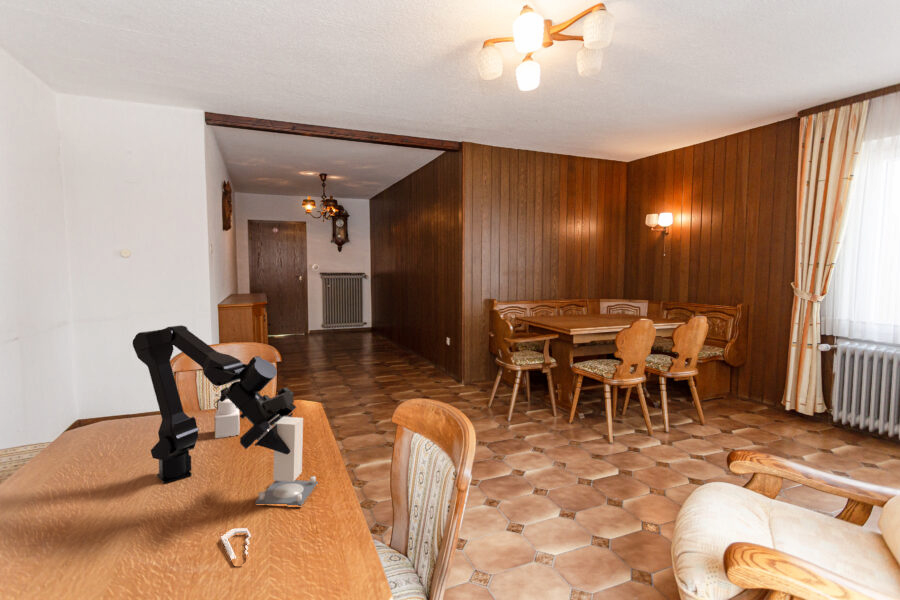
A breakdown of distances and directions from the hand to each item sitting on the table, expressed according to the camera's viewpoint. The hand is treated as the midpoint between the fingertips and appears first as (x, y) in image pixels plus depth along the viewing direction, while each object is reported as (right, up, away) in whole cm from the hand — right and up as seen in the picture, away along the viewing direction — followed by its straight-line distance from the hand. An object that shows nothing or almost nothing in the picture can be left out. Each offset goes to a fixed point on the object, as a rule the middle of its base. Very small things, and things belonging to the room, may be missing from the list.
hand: (293, 448), depth 109 cm
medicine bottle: (-36, -8, +39) cm, 54 cm away
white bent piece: (-4, -14, -20) cm, 24 cm away
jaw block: (-2, -7, +1) cm, 7 cm away
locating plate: (-2, -12, +1) cm, 12 cm away
